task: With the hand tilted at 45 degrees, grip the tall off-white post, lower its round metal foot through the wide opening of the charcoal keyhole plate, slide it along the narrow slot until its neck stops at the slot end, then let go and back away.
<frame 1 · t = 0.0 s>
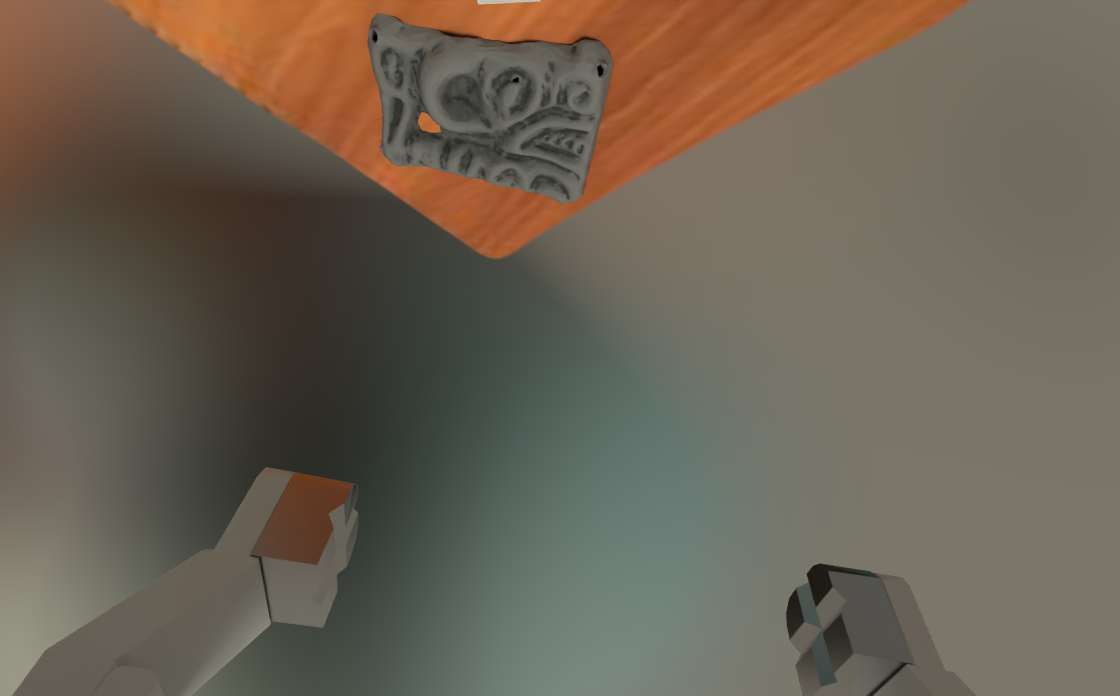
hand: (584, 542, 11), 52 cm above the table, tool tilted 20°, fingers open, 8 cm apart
wall plaque: (488, 102, 65), on the table
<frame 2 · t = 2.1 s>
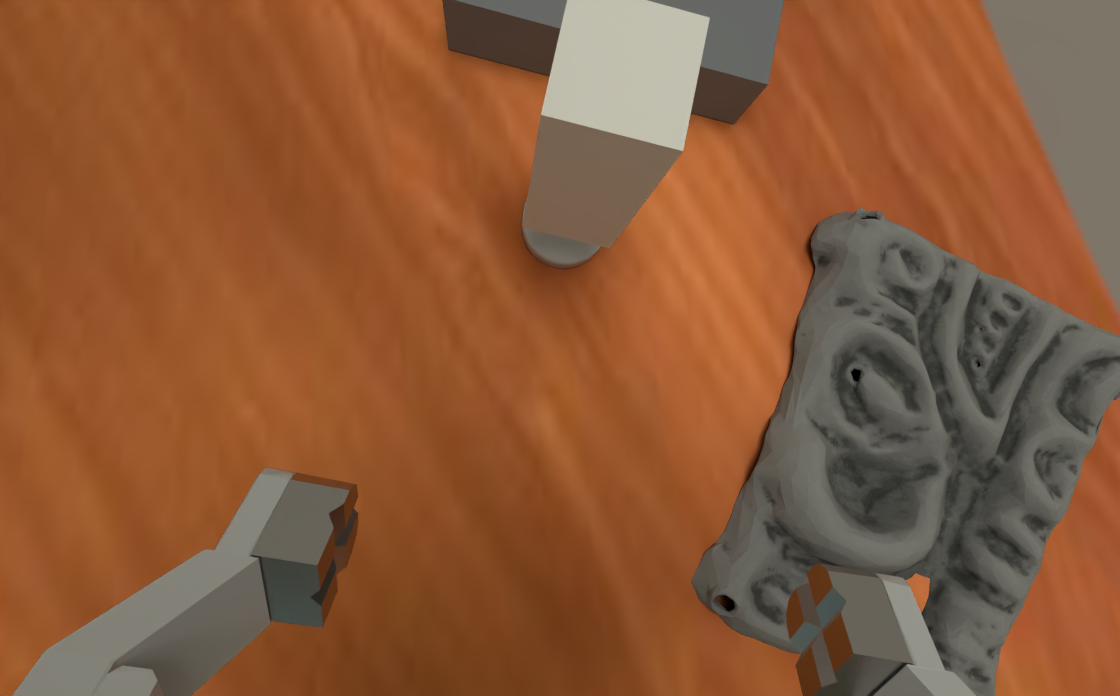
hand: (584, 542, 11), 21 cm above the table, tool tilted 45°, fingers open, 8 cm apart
post: (563, 227, 33), on the table
wall plaque: (885, 458, 35), on the table
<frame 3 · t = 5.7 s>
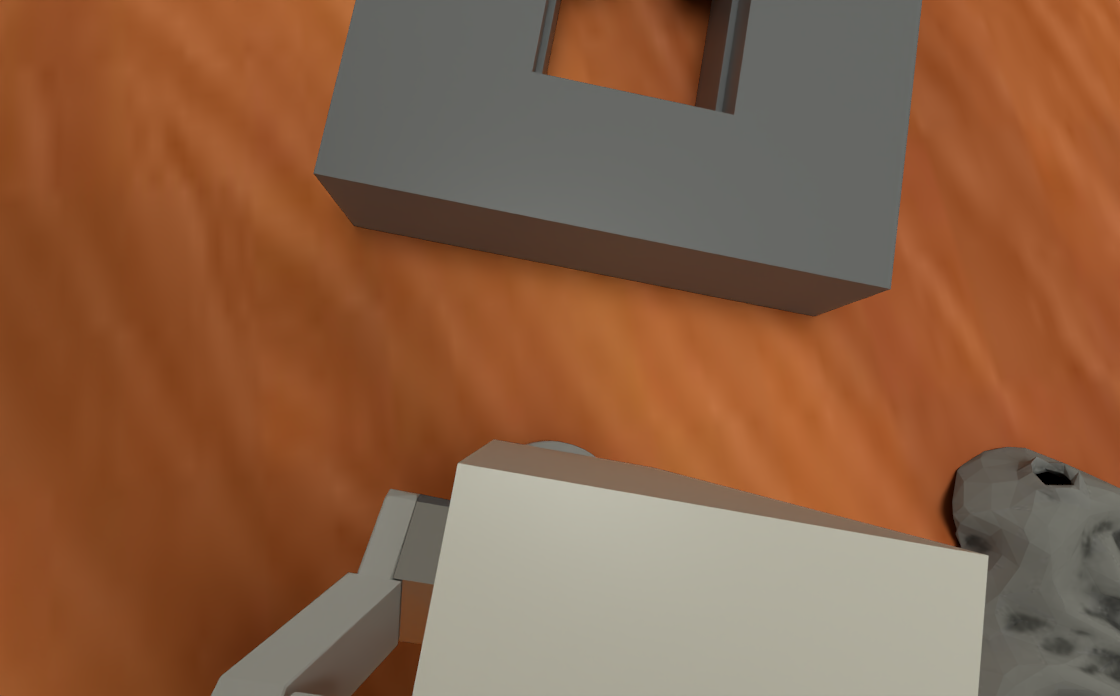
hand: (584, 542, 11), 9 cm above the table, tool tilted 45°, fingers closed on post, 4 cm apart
post: (547, 509, 20), on the table, touching gripper
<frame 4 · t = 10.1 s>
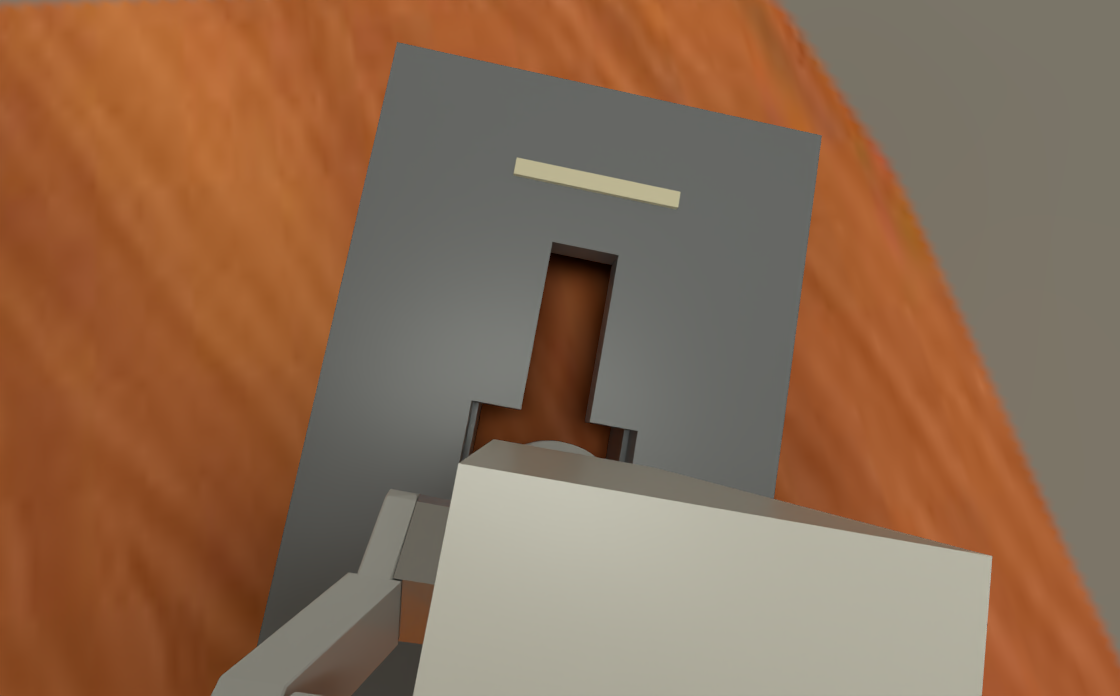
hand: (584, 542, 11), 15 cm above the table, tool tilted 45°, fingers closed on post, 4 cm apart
keyhole plate: (551, 390, 26), on the table
post: (546, 509, 20), point 5 cm above the table, touching gripper
when the fingers open (10 cm above the table, at t = 14.5 s): post stays where it is, resting in keyhole plate.
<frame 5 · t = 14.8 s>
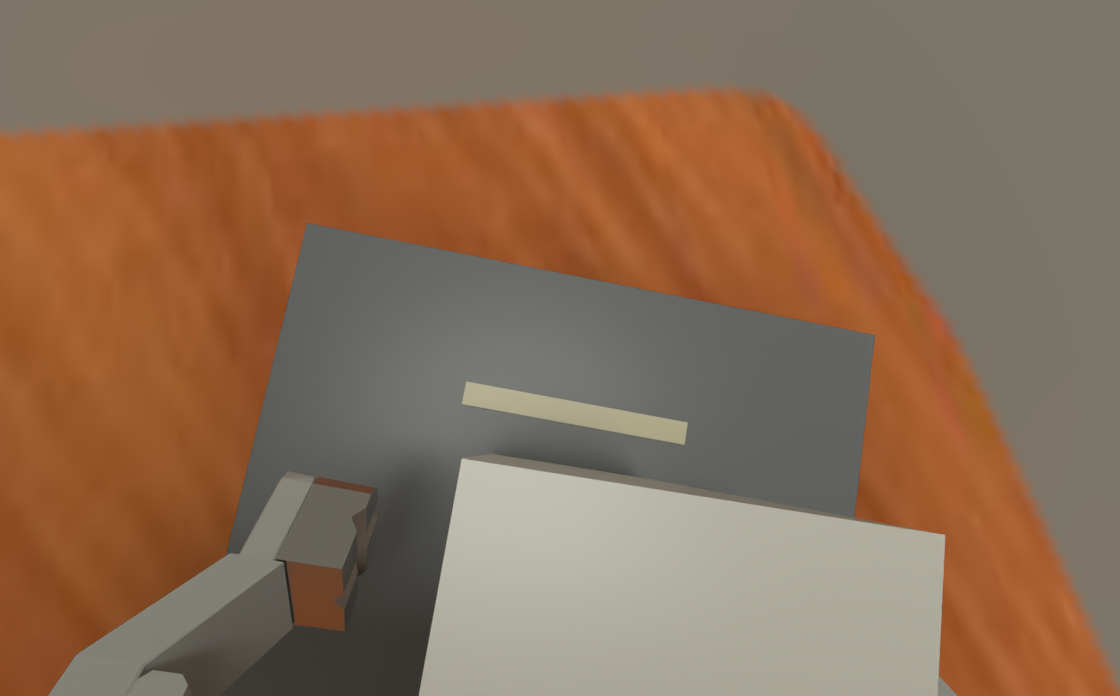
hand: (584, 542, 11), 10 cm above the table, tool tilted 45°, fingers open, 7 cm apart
keyhole plate: (521, 640, 20), on the table
post: (543, 523, 21), resting in keyhole plate
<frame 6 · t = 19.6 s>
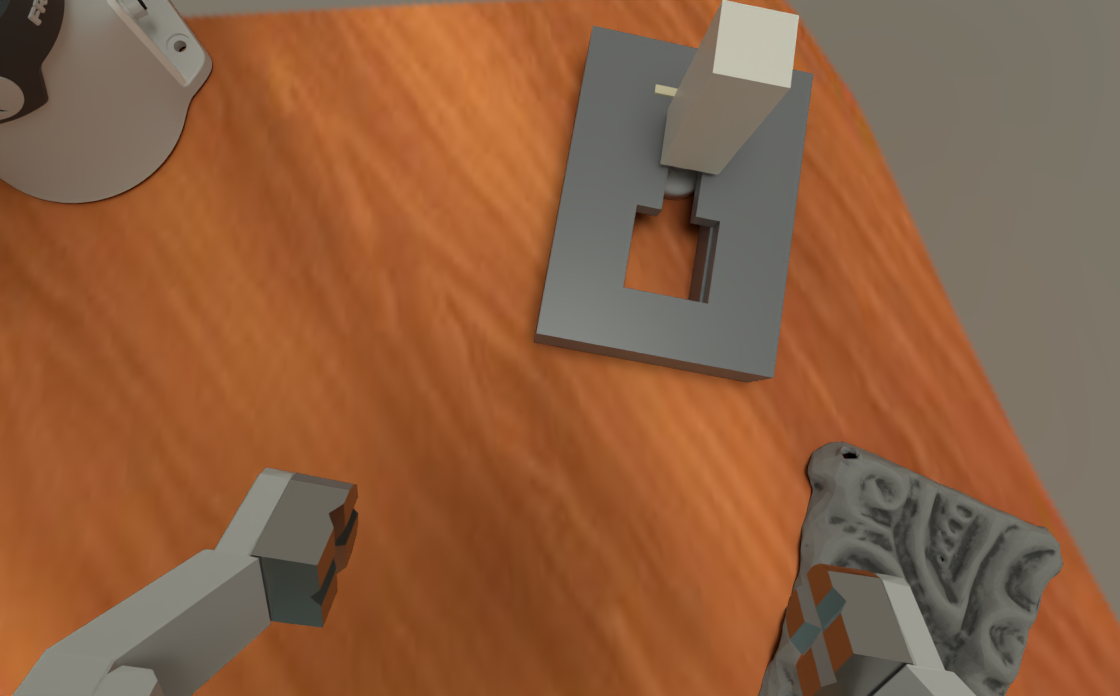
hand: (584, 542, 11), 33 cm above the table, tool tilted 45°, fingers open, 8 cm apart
keyhole plate: (665, 218, 47), on the table
post: (673, 172, 48), resting in keyhole plate
wall plaque: (877, 631, 45), on the table
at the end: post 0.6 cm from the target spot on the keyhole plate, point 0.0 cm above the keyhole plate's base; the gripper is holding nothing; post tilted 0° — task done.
